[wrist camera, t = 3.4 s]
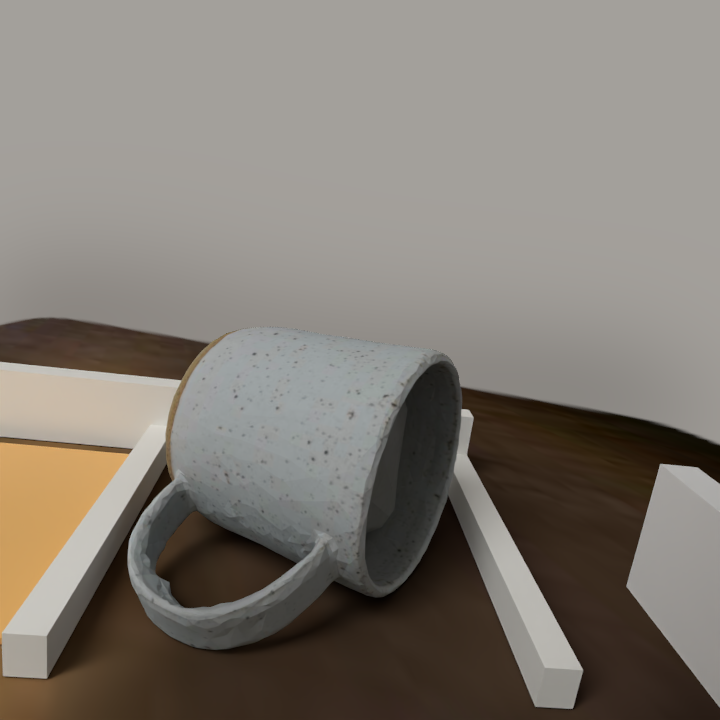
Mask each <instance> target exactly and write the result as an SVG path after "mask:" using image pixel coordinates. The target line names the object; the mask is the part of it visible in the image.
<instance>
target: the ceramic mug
mask: <svg viewBox="0 0 720 720" xmlns="http://www.w3.org/2000/svg"><path fill="white" fill-rule="evenodd" d="M461 409H462V394H461V387H460V383H459V376H458V372H457V370H456V368H455V366H454V364H453V362H452V361H451V359H449V357H448V356H447V355H445V354H443V353H441V352H438V351H435V350H431V349H423V348H415V347H407V346H400V345H393V344H385V343H377V342H372V341H365V340H359V339H353V338H346V337H339V336H331V335H324V334H318V333H313V332H308V331H303V330H298V329H290V328H282V327H260V328H245V329H240V330H237V331H233V332H230V333H226V334H225V335H223V336H221V337H220V338H218V339H216V340H214V341H213V342H212V343H210V344H209V345H208V346H207V347H206V348H205V349H204V350H202V351H201V353H200V354H199V355H198V356H197V357H196V359H195V360H194V361H193V363H192V364H191V365H190V367H189V368H188V370H187V371H186V373H185V375H184V377H183V379H182V380H181V383H180V385H179V387H178V389H177V391H176V393H175V395H174V397H173V401H172V404H171V407H170V411H169V415H168V421H167V427H166V433H165V436H166V461H167V466H168V471H169V475H170V477H171V479H172V481H173V482H171V483H170V484H169V485H168V486H166V487H165V488H164V489H163V490H162V491H161V492H160V493H159V494H158V495H157V496H156V497H155V498H154V499H153V501H152V502H151V504H150V505H149V506H148V507H147V508H146V509H145V511H144V512H143V513H142V515H141V517H140V518H139V520H138V522H137V524H136V526H135V528H134V530H133V531H132V534H131V536H130V539H129V546H128V570H129V576H130V580H131V583H132V586H133V588H134V590H135V592H136V593H137V595H138V597H139V599H140V601H141V603H142V605H143V607H144V609H145V611H146V614H147V616H148V617H149V618H150V619H151V620H152V622H153V623H154V624H155V625H157V626H158V627H159V628H160V629H161V630H163V631H164V632H165V633H166V634H168V635H169V636H171V637H173V638H175V639H177V640H179V641H181V642H183V643H185V644H187V645H190V646H193V647H195V648H202V649H212V650H219V649H230V648H235V647H239V646H244V645H248V644H251V643H255V642H258V641H259V640H261V639H263V638H265V637H268V636H270V635H273V634H275V633H277V632H278V631H280V630H281V629H283V628H284V627H286V626H287V625H289V624H290V623H291V622H292V621H293V620H294V619H295V618H297V617H298V616H299V615H300V614H301V613H302V612H303V611H304V610H305V609H307V608H308V607H309V606H310V605H311V604H312V603H313V602H314V601H315V600H316V599H318V598H319V597H320V595H321V594H322V593H323V592H324V591H325V590H326V588H327V587H328V586H329V585H330V584H331V583H332V582H333V581H336V582H338V583H340V584H342V585H344V586H346V587H348V588H350V589H353V590H355V591H357V592H360V593H362V594H364V595H367V596H371V597H384V596H386V595H388V594H390V593H392V592H394V591H395V590H396V589H397V588H398V587H399V586H400V585H401V584H402V583H403V582H404V581H406V579H407V578H408V577H409V575H410V574H411V573H412V572H413V570H414V569H415V567H416V566H417V564H418V563H419V562H420V560H421V558H422V556H423V554H424V553H425V551H426V549H427V547H428V545H429V542H430V540H431V537H432V535H433V534H434V532H435V529H436V527H437V525H438V522H439V519H440V516H441V514H442V511H443V509H444V506H445V504H446V501H447V497H448V491H449V487H450V483H451V480H452V478H453V472H454V465H455V461H456V457H457V450H458V445H459V433H460V427H461ZM193 511H198V512H199V513H201V514H202V515H203V516H204V517H206V518H207V519H208V520H210V521H211V522H213V523H215V524H217V525H219V526H221V527H223V528H225V529H227V530H229V531H232V532H234V533H237V534H239V535H241V536H243V537H245V538H248V539H250V540H252V541H254V542H257V543H259V544H261V545H263V546H265V547H267V548H269V549H270V550H272V551H274V552H276V553H278V554H280V555H282V556H284V557H286V558H288V559H290V560H292V561H294V562H296V563H297V564H296V565H295V566H294V567H292V568H291V569H290V570H289V571H288V572H286V573H285V574H284V575H282V576H281V577H280V578H279V579H277V580H276V581H274V582H273V583H271V584H270V585H268V586H267V587H265V588H264V589H262V590H260V591H258V592H256V593H254V594H252V595H250V596H247V597H245V598H243V599H240V600H238V601H235V602H231V603H221V604H218V605H215V606H213V607H200V608H184V607H183V606H181V605H180V604H179V603H178V602H177V600H176V599H175V598H174V597H173V596H172V595H171V589H170V583H169V582H168V581H166V580H164V579H161V578H159V577H158V576H157V575H156V573H155V568H156V562H157V560H158V558H159V555H160V554H161V552H162V551H163V550H164V548H165V545H166V542H167V540H168V539H169V538H170V537H171V536H172V534H174V532H175V530H176V529H177V528H178V527H179V526H180V525H181V524H182V522H183V521H184V520H185V519H186V518H187V517H188V515H190V514H191V513H192V512H193Z"/></svg>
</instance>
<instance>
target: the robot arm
mask: <svg viewBox="0 0 720 720" xmlns="http://www.w3.org/2000/svg"><path fill="white" fill-rule="evenodd" d="M626 587H627V588H628V589H629V590H630V592H631V593H632V594H633V596H634V597H635V598H636V600H637V601H638V602H639V603H640V605H641V606H642V607H643V609H644V610H645V611H646V612H647V614H648V615H649V616H650V618H651V619H652V620H653V622H654V623H655V624H656V625H657V627H658V628H659V629H660V631H661V632H662V633H663V635H664V636H665V637H666V638H667V640H668V641H669V642H670V644H671V645H672V646H673V648H674V649H675V650H676V651H677V653H678V654H679V655H680V657H681V658H682V659H683V661H684V662H685V663H686V664H687V666H688V667H689V668H690V670H691V671H692V672H693V674H694V675H695V676H696V677H697V679H698V680H699V681H700V683H701V684H702V685H703V687H704V688H705V689H706V690H707V692H708V693H709V694H710V696H711V697H712V698H713V700H714V701H715V702H716V703H717V705H718V706H719V707H720V484H719V483H718V482H716V481H715V480H713V479H712V478H711V477H709V476H708V475H707V474H705V473H704V472H703V471H701V470H700V469H699V468H697V467H687V466H677V465H666V464H660V467H659V470H658V474H657V478H656V481H655V485H654V489H653V492H652V496H651V499H650V503H649V507H648V510H647V514H646V517H645V521H644V525H643V528H642V532H641V535H640V539H639V543H638V546H637V550H636V553H635V557H634V561H633V564H632V568H631V571H630V575H629V579H628V582H627V586H626Z"/></svg>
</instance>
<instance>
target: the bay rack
mask: <svg viewBox="0 0 720 720" xmlns="http://www.w3.org/2000/svg"><path fill="white" fill-rule="evenodd" d="M180 383H181V380H171V379H161V378H152V377H142V376H132V375H122V374H112V373H103V372H93V371H83V370H73V369H64V368H54V367H44V366H34V365H24V364H15V363H5V362H0V437H10V438H21V439H32V440H43V441H54V442H65V443H76V444H87V445H98V446H109V447H120V448H131V449H133V450H132V451H131V453H130V454H120V453H109V452H98V451H87V450H76V449H65V448H54V447H43V446H32V445H21V444H10V443H0V645H2V661H3V676H10V677H27V678H44V679H47V678H48V676H49V674H50V672H51V670H52V669H53V667H54V665H55V663H56V661H57V660H58V658H59V656H60V654H61V652H62V651H63V649H64V647H65V645H66V643H67V642H68V640H69V638H70V636H71V634H72V633H73V631H74V629H75V627H76V625H77V624H78V622H79V620H80V618H81V616H82V615H83V613H84V611H85V609H86V608H87V606H88V604H89V602H90V600H91V599H92V597H93V595H94V593H95V591H96V590H97V588H98V586H99V584H100V582H101V581H102V579H103V577H104V575H105V573H106V572H107V570H108V568H109V566H110V564H111V563H112V561H113V559H114V557H115V555H116V554H117V552H118V550H119V548H120V546H121V545H122V543H123V541H124V539H125V537H126V536H127V534H128V532H129V530H130V528H131V527H132V525H133V523H134V521H135V519H136V518H137V516H138V514H139V512H140V510H141V509H142V507H143V505H144V503H145V501H146V500H147V498H148V496H149V494H150V492H151V491H152V489H153V487H154V485H155V484H156V482H157V480H158V478H159V476H160V475H161V473H162V471H163V469H164V467H165V466H166V464H167V461H166V436H165V433H166V427H167V421H168V415H169V411H170V407H171V404H172V401H173V397H174V395H175V393H176V391H177V389H178V387H179V385H180ZM473 418H474V417H473V416H472V414H471V413H470V411H469V410H465V409H461V427H460V433H459V445H458V450H457V457H456V461H455V465H454V472H453V478H452V480H451V483H450V487H449V491H448V496H449V498H450V501H451V503H452V505H453V508H454V510H455V513H456V515H457V518H458V520H459V522H460V525H461V527H462V530H463V532H464V535H465V537H466V540H467V542H468V544H469V547H470V549H471V552H472V554H473V557H474V559H475V561H476V564H477V566H478V569H479V571H480V574H481V576H482V578H483V581H484V583H485V586H486V588H487V591H488V593H489V596H490V598H491V600H492V603H493V605H494V608H495V610H496V613H497V615H498V617H499V620H500V622H501V625H502V627H503V630H504V632H505V634H506V637H507V639H508V642H509V644H510V647H511V649H512V651H513V654H514V656H515V659H516V661H517V664H518V666H519V669H520V671H521V673H522V676H523V678H524V681H525V683H526V686H527V688H528V690H529V693H530V695H531V698H532V700H533V703H534V705H535V707H547V708H565V709H573V707H574V703H575V699H576V695H577V692H578V688H579V684H580V680H581V677H582V673H583V669H582V667H581V665H580V663H579V662H578V660H577V658H576V656H575V654H574V652H573V650H572V649H571V647H570V645H569V643H568V641H567V639H566V637H565V636H564V634H563V632H562V630H561V628H560V626H559V625H558V623H557V621H556V619H555V617H554V615H553V613H552V612H551V610H550V608H549V606H548V604H547V602H546V601H545V599H544V597H543V595H542V593H541V591H540V589H539V588H538V586H537V584H536V582H535V580H534V578H533V576H532V575H531V573H530V571H529V569H528V567H527V565H526V564H525V562H524V560H523V558H522V556H521V554H520V552H519V551H518V549H517V547H516V545H515V543H514V541H513V539H512V538H511V536H510V534H509V532H508V530H507V528H506V527H505V525H504V523H503V521H502V519H501V517H500V515H499V514H498V512H497V510H496V508H495V506H494V504H493V503H492V501H491V499H490V497H489V495H488V493H487V491H486V490H485V488H484V486H483V484H482V482H481V480H480V478H479V477H478V475H477V473H476V471H475V469H474V467H473V466H472V464H471V462H470V460H469V458H468V456H467V450H468V445H469V440H470V434H471V429H472V424H473Z"/></svg>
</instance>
